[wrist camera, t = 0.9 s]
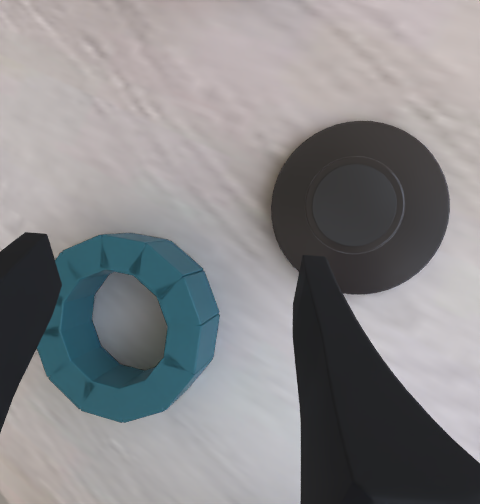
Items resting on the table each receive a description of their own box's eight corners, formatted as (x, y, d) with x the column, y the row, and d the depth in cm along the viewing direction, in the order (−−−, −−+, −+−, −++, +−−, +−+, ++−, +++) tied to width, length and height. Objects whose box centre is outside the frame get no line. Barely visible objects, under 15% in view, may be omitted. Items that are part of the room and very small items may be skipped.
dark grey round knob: (428, 307, 23) (453, 341, 16) (262, 275, 25) (227, 294, 18) (463, 133, 22) (503, 98, 15) (287, 115, 24) (260, 78, 17)
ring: (204, 417, 26) (184, 442, 23) (59, 376, 28) (24, 394, 25) (229, 250, 25) (212, 254, 22) (76, 222, 27) (42, 223, 24)
